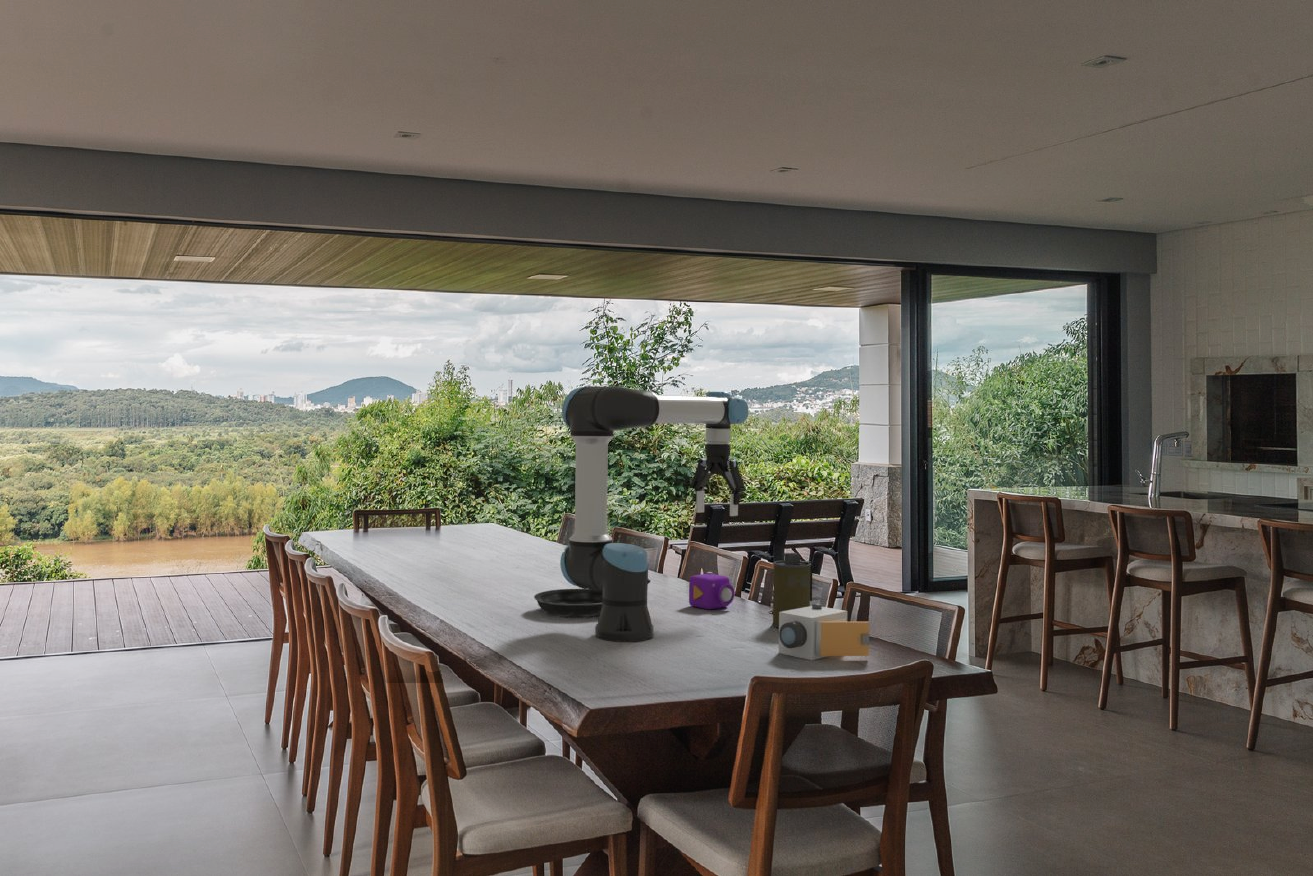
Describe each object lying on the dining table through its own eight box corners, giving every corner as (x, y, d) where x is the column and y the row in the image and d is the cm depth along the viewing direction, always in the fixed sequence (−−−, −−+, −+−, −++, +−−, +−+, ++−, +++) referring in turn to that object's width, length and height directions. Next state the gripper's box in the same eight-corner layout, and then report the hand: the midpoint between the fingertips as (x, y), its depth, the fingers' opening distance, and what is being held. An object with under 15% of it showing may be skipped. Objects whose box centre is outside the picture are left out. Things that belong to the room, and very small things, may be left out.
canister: (780, 630, 286) (782, 556, 286) (766, 623, 296) (767, 551, 296) (817, 628, 289) (819, 555, 289) (802, 621, 299) (803, 550, 299)
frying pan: (574, 624, 291) (575, 600, 291) (516, 612, 308) (516, 589, 308) (681, 605, 323) (682, 583, 323) (622, 595, 340) (623, 574, 340)
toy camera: (722, 613, 311) (722, 579, 311) (684, 607, 319) (684, 574, 319) (742, 608, 319) (742, 574, 319) (704, 602, 328) (705, 570, 328)
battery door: (817, 657, 251) (817, 623, 251) (815, 655, 253) (815, 621, 253) (869, 656, 252) (870, 623, 252) (867, 655, 254) (868, 621, 254)
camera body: (803, 662, 249) (804, 615, 249) (769, 655, 257) (770, 609, 256) (847, 651, 262) (848, 607, 261) (813, 645, 269) (814, 601, 269)
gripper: (758, 444, 313) (756, 516, 313) (696, 442, 331) (695, 510, 331) (741, 444, 308) (739, 518, 308) (679, 442, 325) (678, 511, 326)
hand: (716, 514), depth 320 cm, fingers open, 13 cm apart
